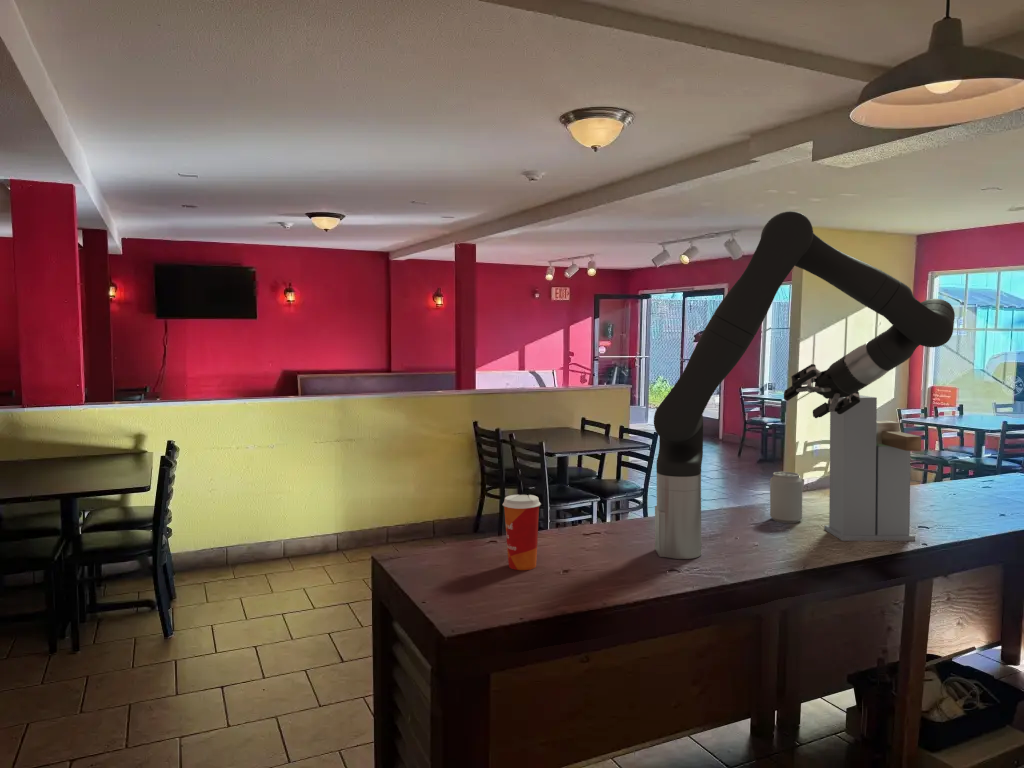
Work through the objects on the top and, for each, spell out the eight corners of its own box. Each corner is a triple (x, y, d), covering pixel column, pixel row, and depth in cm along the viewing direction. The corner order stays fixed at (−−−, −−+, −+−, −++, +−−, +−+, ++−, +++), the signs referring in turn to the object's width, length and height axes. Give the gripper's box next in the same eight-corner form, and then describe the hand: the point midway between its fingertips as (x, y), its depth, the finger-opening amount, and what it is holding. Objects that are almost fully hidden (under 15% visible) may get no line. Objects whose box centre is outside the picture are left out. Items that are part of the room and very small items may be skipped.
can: (797, 525, 173) (797, 476, 172) (766, 521, 177) (766, 473, 177) (805, 519, 179) (805, 472, 178) (775, 515, 183) (775, 469, 183)
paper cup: (507, 559, 148) (506, 493, 147) (543, 561, 146) (542, 494, 146) (500, 571, 140) (499, 501, 139) (538, 573, 139) (537, 502, 138)
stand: (841, 540, 159) (843, 398, 157) (824, 529, 169) (825, 395, 167) (915, 540, 158) (917, 397, 156) (893, 529, 168) (894, 394, 166)
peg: (902, 450, 150) (902, 428, 150) (867, 441, 166) (867, 420, 166) (925, 450, 150) (925, 428, 150) (888, 440, 166) (888, 420, 166)
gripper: (882, 371, 150) (821, 407, 162) (832, 339, 147) (774, 379, 158) (887, 397, 145) (824, 433, 157) (836, 364, 142) (775, 404, 153)
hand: (799, 406), depth 158 cm, fingers open, 8 cm apart
